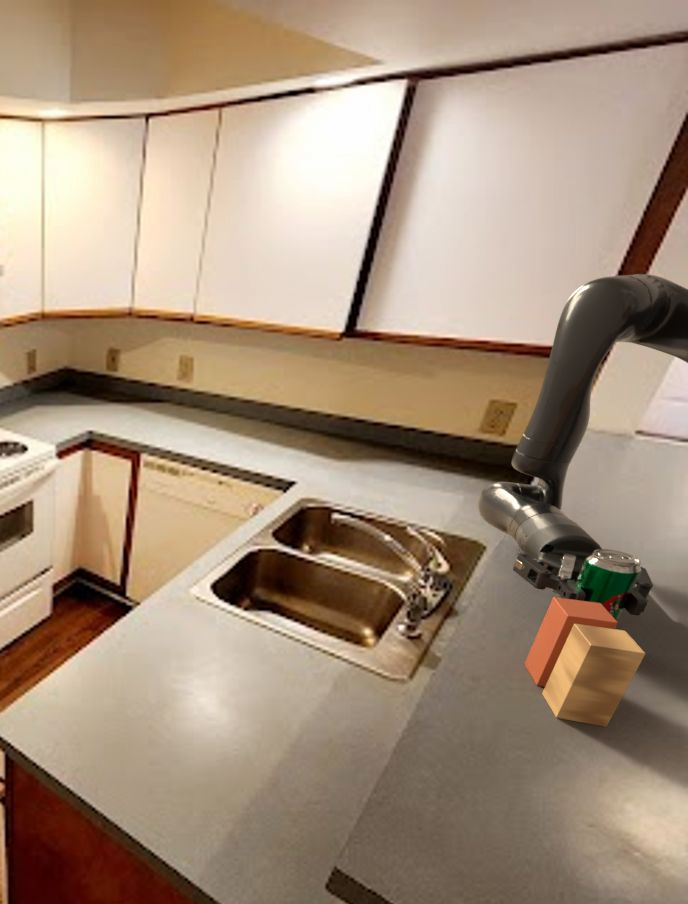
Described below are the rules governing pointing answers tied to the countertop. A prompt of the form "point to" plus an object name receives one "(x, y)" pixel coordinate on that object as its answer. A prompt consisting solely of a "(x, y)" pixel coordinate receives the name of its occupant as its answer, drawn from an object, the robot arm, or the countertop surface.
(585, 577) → the soda can
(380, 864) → the countertop surface
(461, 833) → the countertop surface
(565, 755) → the countertop surface
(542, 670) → the terracotta block
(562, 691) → the maple block
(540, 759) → the countertop surface
